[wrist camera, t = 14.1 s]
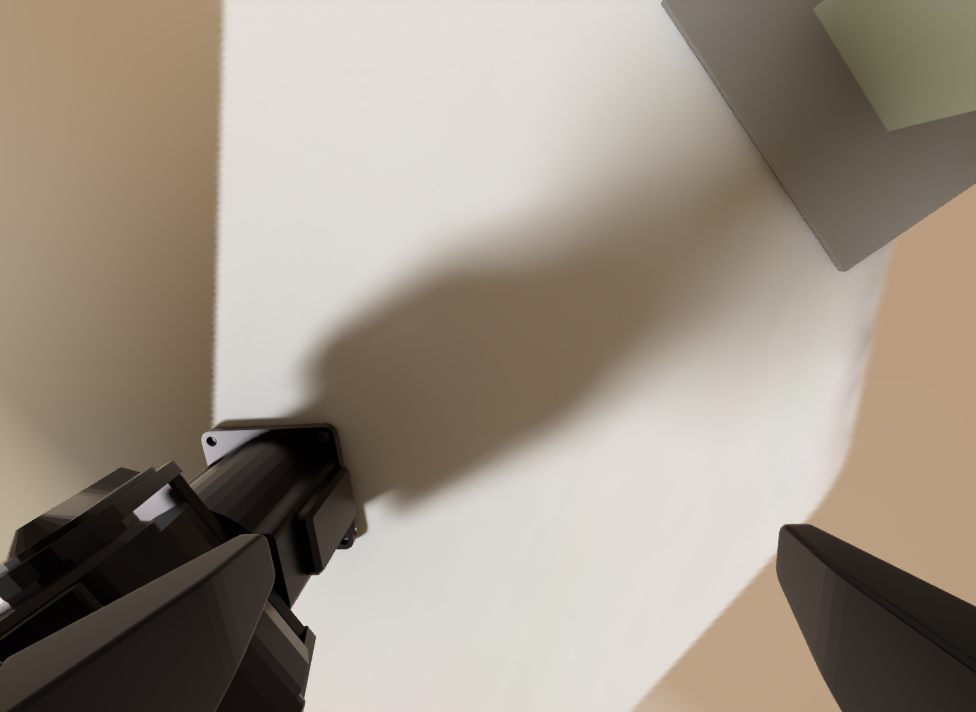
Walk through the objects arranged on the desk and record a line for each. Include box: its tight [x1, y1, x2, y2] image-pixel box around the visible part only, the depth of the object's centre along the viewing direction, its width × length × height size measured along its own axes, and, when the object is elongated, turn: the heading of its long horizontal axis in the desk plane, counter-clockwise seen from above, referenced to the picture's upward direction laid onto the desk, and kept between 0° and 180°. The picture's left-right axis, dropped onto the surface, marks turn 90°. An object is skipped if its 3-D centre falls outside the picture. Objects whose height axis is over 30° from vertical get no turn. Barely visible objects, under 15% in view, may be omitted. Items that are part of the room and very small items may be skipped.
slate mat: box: [661, 0, 976, 272], centre depth 16 cm, size 12×12×1 cm
